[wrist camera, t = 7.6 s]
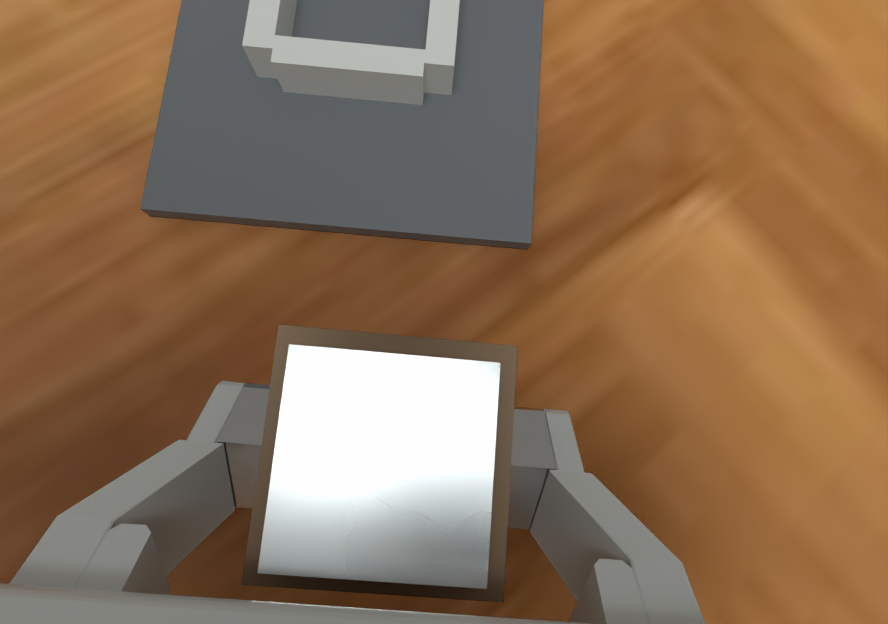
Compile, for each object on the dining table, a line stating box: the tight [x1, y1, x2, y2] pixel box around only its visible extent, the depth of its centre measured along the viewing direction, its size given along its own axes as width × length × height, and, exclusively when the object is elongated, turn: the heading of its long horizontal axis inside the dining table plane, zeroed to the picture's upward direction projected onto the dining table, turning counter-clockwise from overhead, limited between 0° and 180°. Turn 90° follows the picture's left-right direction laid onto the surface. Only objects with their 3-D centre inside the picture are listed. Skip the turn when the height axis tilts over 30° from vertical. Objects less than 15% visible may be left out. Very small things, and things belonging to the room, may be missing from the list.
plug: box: [241, 325, 518, 602], centre depth 12 cm, size 4×4×8 cm
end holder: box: [141, 0, 543, 249], centre depth 23 cm, size 16×20×3 cm
